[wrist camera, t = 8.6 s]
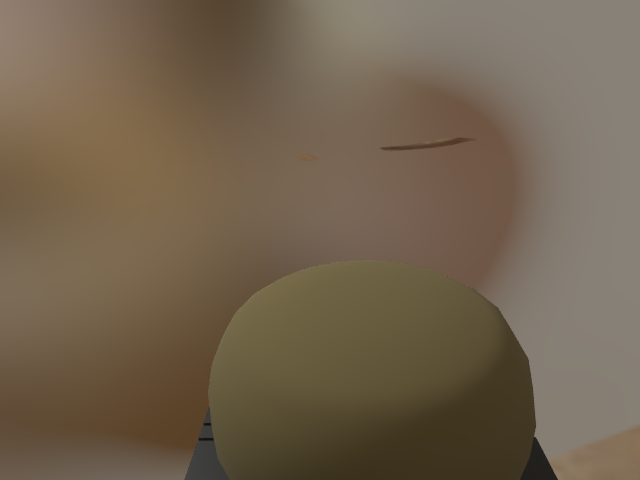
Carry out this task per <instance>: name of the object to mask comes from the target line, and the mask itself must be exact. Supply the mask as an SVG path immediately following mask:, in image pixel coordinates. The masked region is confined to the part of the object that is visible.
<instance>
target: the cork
mask: <svg viewBox="0 0 640 480" xmlns="http://www.w3.org/2000/svg"><path fill="white" fill-rule="evenodd" d="M208 395H209V405H210V415H211V425H212V432H213V437H214V442H215V448H216V453H217V458H218V460H219V462H220V464H221V465H222V467H223V469H224V471H225V472H226V474H227V476H228V477H229V479H230V480H520V478H521V476H522V474H523V471H524V469H525V467H526V465H527V462H528V460H529V458H530V454H531V449H532V444H533V439H534V433H535V428H536V421H535V409H534V396H533V386H532V379H531V373H530V366H529V360H528V358H527V356H526V354H525V353H524V351H523V349H522V347H521V346H520V344H519V342H518V341H517V339H516V337H515V335H514V333H513V332H512V330H511V328H510V327H509V325H508V323H507V322H506V320H505V319H504V317H503V315H502V314H501V312H500V311H499V309H498V308H497V307H496V306H495V305H494V304H492V303H491V302H490V301H488V300H487V299H486V298H485V297H484V296H482V295H481V294H480V293H478V292H477V291H476V290H475V289H473V288H471V287H469V286H467V285H465V284H462V283H460V282H458V281H456V280H454V279H451V278H450V277H447V276H445V275H443V274H441V273H439V272H436V271H434V270H430V269H426V268H422V267H419V266H415V265H411V264H407V263H399V262H390V261H381V260H353V261H352V260H351V261H340V262H334V263H329V264H323V265H316V266H313V267H310V268H307V269H304V270H301V271H298V272H295V273H292V274H289V275H287V276H285V277H283V278H281V279H279V280H277V281H276V282H274V283H272V284H270V285H269V286H267V287H265V288H264V289H262V290H260V291H258V292H256V293H255V294H254V295H253V296H252V297H251V298H250V299H249V300H248V301H247V302H246V303H245V304H244V305H243V306H242V307H241V308H240V309H239V310H238V311H237V312H236V313H235V315H234V317H233V318H232V320H231V322H230V324H229V326H228V328H227V329H226V332H225V333H224V335H223V337H222V340H221V342H220V345H219V348H218V350H217V353H216V355H215V358H214V360H213V363H212V369H211V376H210V383H209V391H208Z"/></svg>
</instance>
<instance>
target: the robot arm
mask: <svg viewBox="0 0 640 480" xmlns="http://www.w3.org/2000/svg"><path fill="white" fill-rule="evenodd" d="M185 480H230V479H229V477H228V476H227V474H226V472H225V471H224V469H223V467H222V465H221V464H220V462H219V460H218V458H217V453H216V448H215V442H214V437H213V432H212V425H211V415H210V406H209V409H208V412H207V415H206V418H205V421H204V426H203V427H202V430H201V433H200V435H199V441H198V442H197V445H196V447H195V451H194V454H193V457H192V459H191V462H190V465H189V468H188V471H187V474H186V477H185ZM520 480H558V479H557V477H556V475H555V473H554V471H553V469H552V467H551V466H550V464H549V462H548V460H547V458H546V456H545V454H544V452H543V450H542V448H541V446H540V444H539V442H538V441H537V439H536V437H534V439H533V444H532V449H531V454H530V458H529V460H528V462H527V465H526V467H525V469H524V471H523V474H522V476H521V478H520Z"/></svg>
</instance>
